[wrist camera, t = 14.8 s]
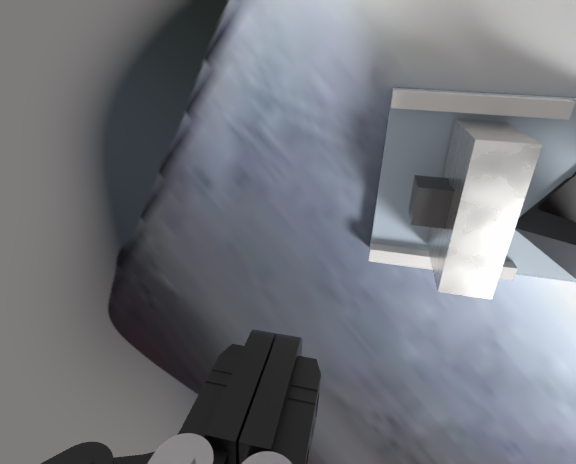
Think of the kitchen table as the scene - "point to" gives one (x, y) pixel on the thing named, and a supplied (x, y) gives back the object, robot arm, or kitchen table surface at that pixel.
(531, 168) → the block
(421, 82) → the kitchen table surface
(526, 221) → the phone stand
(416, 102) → the vise body
